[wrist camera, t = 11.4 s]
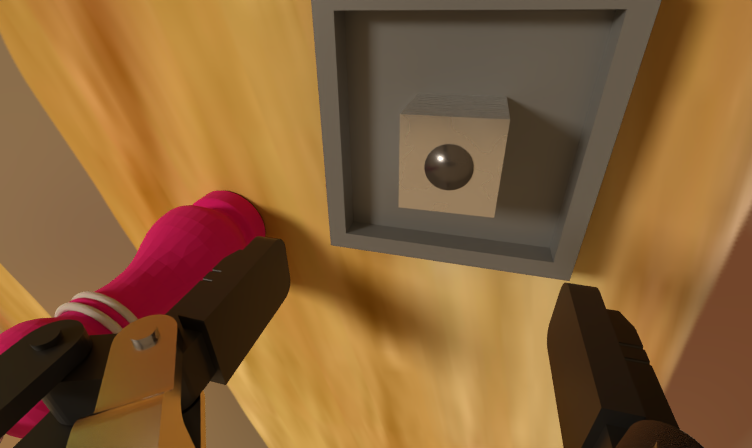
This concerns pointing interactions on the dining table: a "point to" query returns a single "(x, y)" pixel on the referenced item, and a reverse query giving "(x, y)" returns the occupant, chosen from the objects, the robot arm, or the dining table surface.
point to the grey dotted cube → (452, 153)
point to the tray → (480, 78)
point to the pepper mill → (154, 274)
